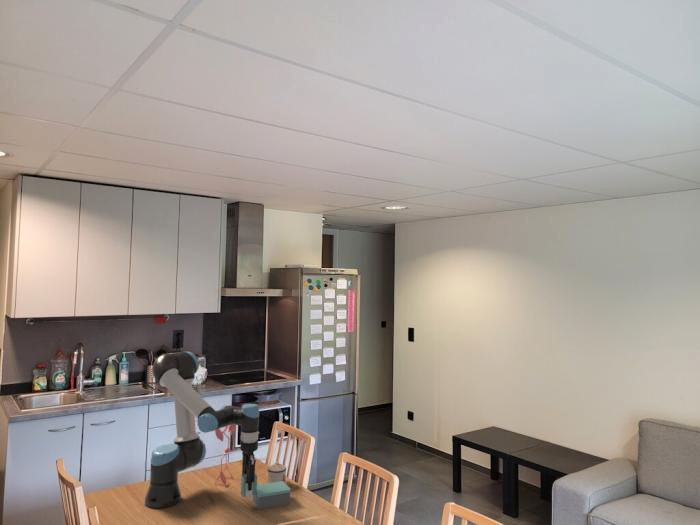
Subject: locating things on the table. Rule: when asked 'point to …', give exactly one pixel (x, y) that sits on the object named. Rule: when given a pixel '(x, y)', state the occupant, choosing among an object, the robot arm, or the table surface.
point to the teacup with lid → (276, 473)
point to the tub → (271, 500)
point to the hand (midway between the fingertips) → (247, 495)
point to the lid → (264, 487)
